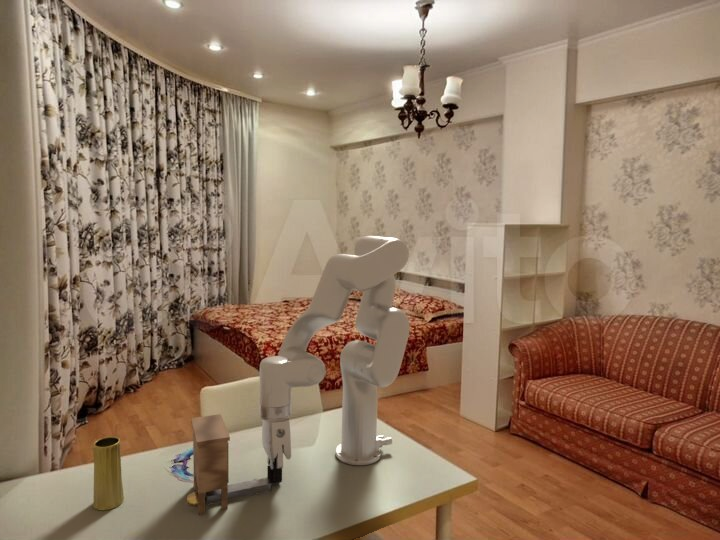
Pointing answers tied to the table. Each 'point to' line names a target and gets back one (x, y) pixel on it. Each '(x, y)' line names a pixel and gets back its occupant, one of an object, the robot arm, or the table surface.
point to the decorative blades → (182, 466)
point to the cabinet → (210, 458)
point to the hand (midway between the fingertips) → (274, 481)
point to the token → (193, 499)
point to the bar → (240, 490)
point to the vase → (107, 474)
